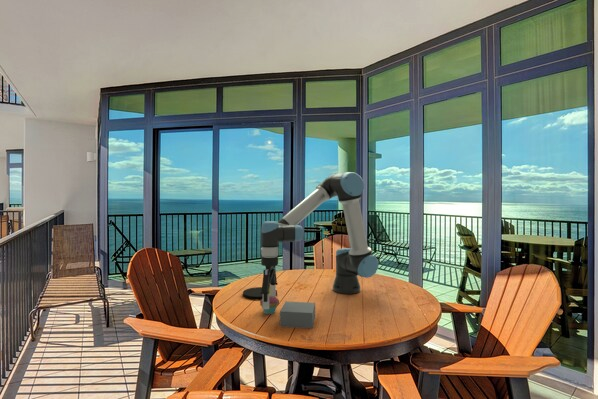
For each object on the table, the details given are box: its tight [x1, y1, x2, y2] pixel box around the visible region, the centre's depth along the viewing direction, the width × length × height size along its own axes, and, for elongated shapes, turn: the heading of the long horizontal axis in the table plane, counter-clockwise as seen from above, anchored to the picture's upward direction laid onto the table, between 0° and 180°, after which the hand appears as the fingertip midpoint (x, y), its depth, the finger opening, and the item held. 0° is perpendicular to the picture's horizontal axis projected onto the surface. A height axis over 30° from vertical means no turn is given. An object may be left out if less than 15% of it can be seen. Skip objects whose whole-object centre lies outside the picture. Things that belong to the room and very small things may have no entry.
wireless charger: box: [242, 286, 278, 301], centre depth 179 cm, size 18×18×2 cm
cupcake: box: [259, 286, 280, 315], centre depth 151 cm, size 9×8×12 cm
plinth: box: [279, 300, 316, 329], centre depth 141 cm, size 13×13×6 cm
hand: (269, 304), depth 151 cm, fingers open, 13 cm apart
